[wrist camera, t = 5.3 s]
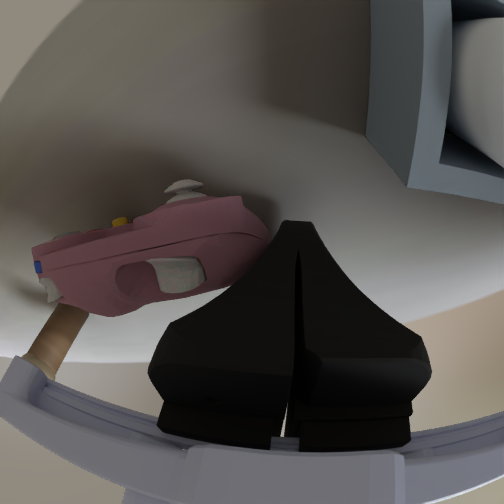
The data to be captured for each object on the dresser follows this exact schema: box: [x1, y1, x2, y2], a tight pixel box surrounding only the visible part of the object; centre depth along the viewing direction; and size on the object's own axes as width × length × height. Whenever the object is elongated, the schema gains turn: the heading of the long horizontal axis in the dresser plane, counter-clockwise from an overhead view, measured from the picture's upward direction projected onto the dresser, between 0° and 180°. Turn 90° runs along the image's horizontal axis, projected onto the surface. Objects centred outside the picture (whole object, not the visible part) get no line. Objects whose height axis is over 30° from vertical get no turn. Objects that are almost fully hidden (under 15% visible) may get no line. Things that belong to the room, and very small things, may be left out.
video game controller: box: [32, 179, 273, 317], centre depth 11 cm, size 10×5×7 cm, turn 106°
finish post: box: [21, 303, 89, 381], centre depth 15 cm, size 3×3×8 cm
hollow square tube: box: [365, 0, 504, 205], centre depth 5 cm, size 6×6×4 cm
